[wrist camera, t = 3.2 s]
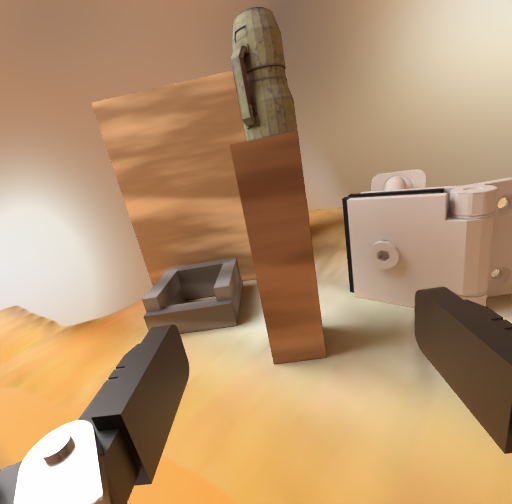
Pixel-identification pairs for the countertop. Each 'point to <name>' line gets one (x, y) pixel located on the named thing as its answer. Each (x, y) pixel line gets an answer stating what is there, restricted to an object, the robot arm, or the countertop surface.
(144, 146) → the panel
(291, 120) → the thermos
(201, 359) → the countertop surface
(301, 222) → the rail
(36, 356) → the countertop surface
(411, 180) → the wall hook
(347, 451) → the countertop surface
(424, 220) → the hinge
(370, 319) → the countertop surface
